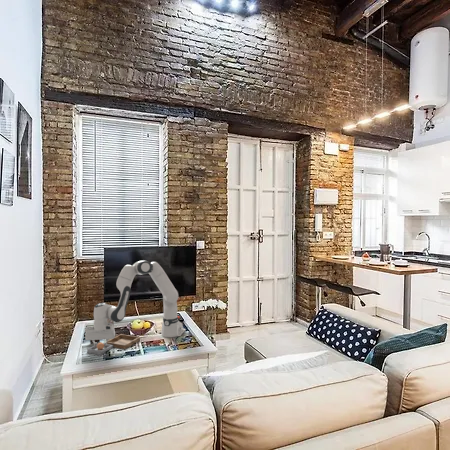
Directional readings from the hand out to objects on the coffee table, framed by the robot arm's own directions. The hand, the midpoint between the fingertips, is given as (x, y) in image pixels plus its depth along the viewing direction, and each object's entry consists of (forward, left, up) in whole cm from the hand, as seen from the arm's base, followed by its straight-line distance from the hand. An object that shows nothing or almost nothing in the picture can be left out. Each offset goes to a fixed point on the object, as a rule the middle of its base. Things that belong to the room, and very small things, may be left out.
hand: (100, 345), depth 233 cm
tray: (0, 0, -4) cm, 4 cm away
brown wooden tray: (-16, +7, -4) cm, 18 cm away
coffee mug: (-10, -16, -4) cm, 19 cm away
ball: (0, 0, -3) cm, 3 cm away
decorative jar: (-31, -24, -4) cm, 39 cm away
